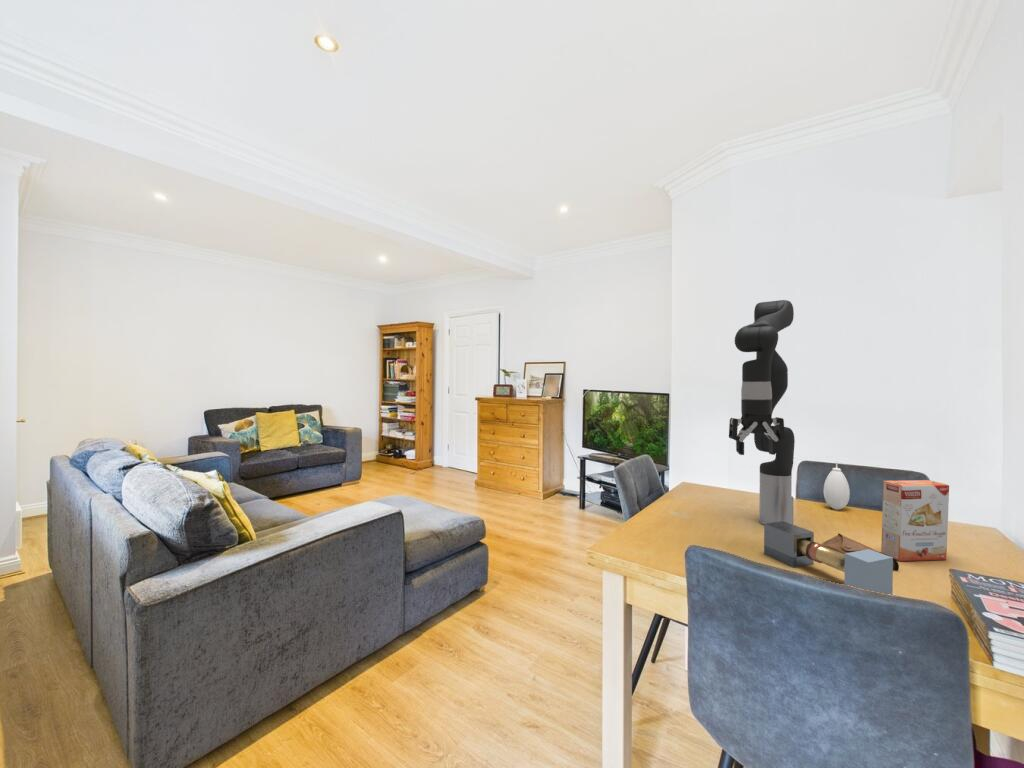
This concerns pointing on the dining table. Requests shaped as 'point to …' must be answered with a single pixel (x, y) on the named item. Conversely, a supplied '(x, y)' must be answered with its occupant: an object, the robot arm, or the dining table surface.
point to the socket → (869, 571)
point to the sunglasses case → (850, 547)
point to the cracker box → (915, 520)
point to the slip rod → (821, 554)
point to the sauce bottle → (836, 489)
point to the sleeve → (786, 543)
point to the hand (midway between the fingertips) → (756, 454)
